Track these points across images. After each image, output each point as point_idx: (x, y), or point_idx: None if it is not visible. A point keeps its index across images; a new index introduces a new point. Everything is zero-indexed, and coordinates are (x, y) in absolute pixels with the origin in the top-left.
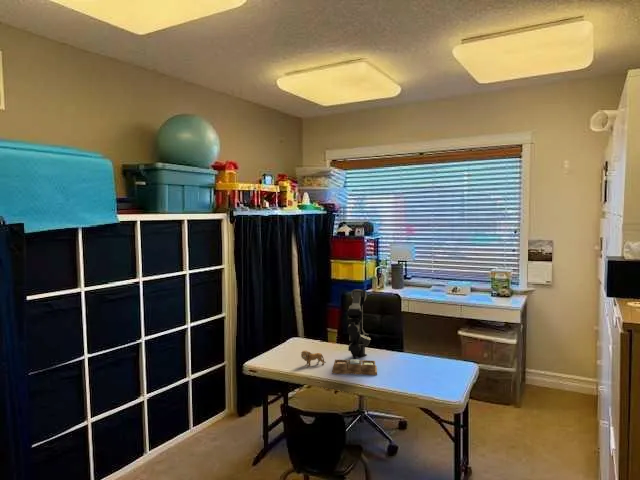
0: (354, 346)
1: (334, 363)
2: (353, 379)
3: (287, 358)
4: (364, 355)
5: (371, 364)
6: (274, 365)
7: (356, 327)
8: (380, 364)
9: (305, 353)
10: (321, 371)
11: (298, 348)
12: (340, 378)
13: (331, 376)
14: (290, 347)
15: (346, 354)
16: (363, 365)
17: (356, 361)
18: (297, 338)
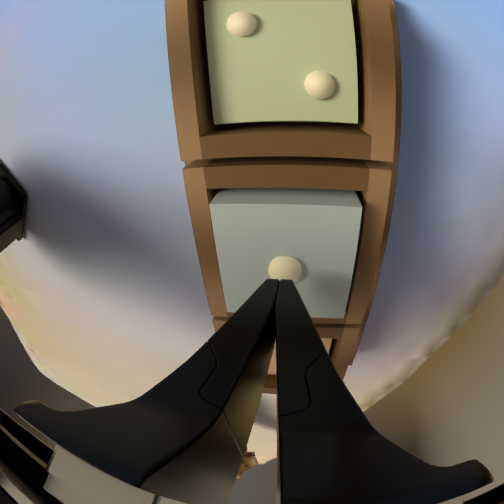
0: None
1: None
2: (480, 224)
3: None
4: (2, 170)
5: (287, 12)
6: (255, 449)
7: None
8: (87, 10)
9: (242, 469)
10: None
11: (91, 391)
12: (441, 306)
13: (396, 348)
14: (98, 402)
15: (30, 265)
16: (391, 135)
17: (302, 246)
18: (41, 372)
